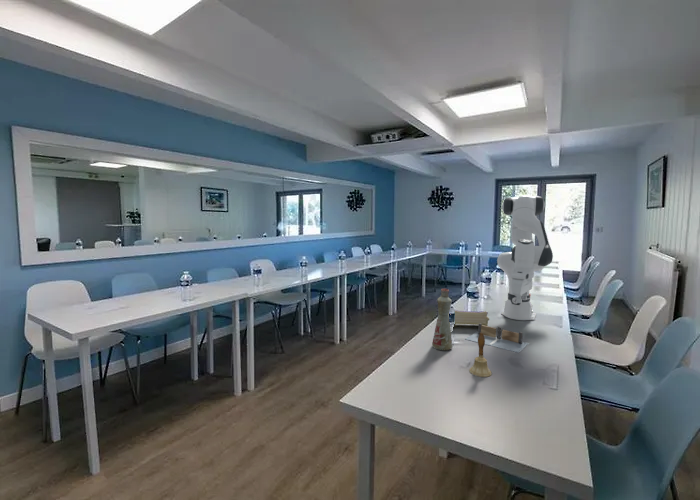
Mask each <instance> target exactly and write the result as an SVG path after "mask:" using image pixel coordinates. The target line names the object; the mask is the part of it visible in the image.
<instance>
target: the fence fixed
mask: <svg viewBox="0 0 700 500" xmlns="http://www.w3.org/2000/svg"><path fill="white" fill-rule="evenodd" d="M477 328H478V329H477V332H478V334H480V332H482V333H483V334H484V335H487V336H491V337H496V336H497V339H501V337H502V326H497V327H492V326H484V325H482V324H481V323H479V325H478V327H477Z"/></svg>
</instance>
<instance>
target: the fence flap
mask: <svg viewBox="0 0 700 500" xmlns="http://www.w3.org/2000/svg"><path fill="white" fill-rule="evenodd" d="M501 337H502V339H504V340H508V341H513V342H517V343H519V344H522V342H523V332H522V331H519V332H515V331H511V330H507V329H501Z"/></svg>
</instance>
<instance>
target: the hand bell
mask: <svg viewBox="0 0 700 500" xmlns="http://www.w3.org/2000/svg"><path fill="white" fill-rule="evenodd" d="M485 345H486V344H485V338H484V334H483V333H482V332H480V334H479V337H478V342H477V346H478V356H477V357H474V361H473V364H472V366H471V367H470V368H469V370H468V371H469V373H470V374H471V375H473V376H476V377H478V378H479V377H480V378H488V377H491V376H492V371H491V370H490V369H489V366H488V359H487V358H485V356H484V348H485Z"/></svg>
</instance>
